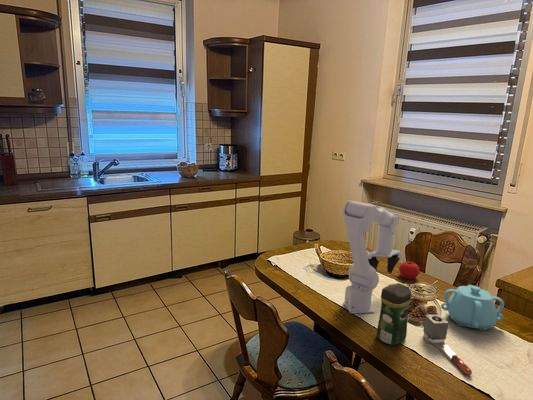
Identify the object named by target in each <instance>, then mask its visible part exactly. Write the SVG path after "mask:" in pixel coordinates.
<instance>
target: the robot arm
mask: <svg viewBox="0 0 533 400" xmlns="http://www.w3.org/2000/svg"><path fill="white" fill-rule="evenodd" d="M341 214H342V218H343V222H344V227H346V234H347V240H348V243H349V244H348V245H349V247H350V248H349V249H350V252H351V257H352V262H353V263H352V264H351V265H350V266H349V268H348V279H349V282H350V283H351V285H348V286H346V287H345V292H344V301H343V304H344V306H345V308H346V309H347V310H348V311H349V313H350V314H363V313H364V314H366V313H370V314H371V313H375V310H374V309H373V307H372V306H371V305H372V295H373V291H374V289H376V288H377V287H378V284H379V281H380V276H379V274H378V273H377V269H378V266H379V263H380V261H379V260H378V258H384V257H385V258H387V265H386V271H387V273H389V274H392V273H393V272H394V269H395V266H396V265H397V264H398V262H399V261H400V259H401V258H400V256H401V250H399V249H393V243H394V235H395V232H396V230H397V227H398V223H399V217H398V216H397V215H396V213H392V212H390V210H388V209H386V207H383V206H379V207H377V205H375V204H371V203H365V202H360V201H354V200H352V199H348V200H347V201H346V203H345V204H344V206H343V209H342V213H341ZM374 222H375V223H376V224H377V225H378V226H379V227H378V236H377V237H378V238H377V245H376V246H377V247H376V249H375V250H373V251H370V252H368V251H367V246H366V241H365V236H364V233H368V232H369V231H370V228H371V227H372V226H373V223H374Z"/></svg>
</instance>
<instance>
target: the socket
mask: <svg viewBox="0 0 533 400" xmlns="http://www.w3.org/2000/svg"><path fill="white" fill-rule="evenodd" d="M448 328H449V321H447V320H446V318H444V316H442V315H441V314H425V317H424V324H423V329H422V332H423V333H424V332H425V333H426V334H427V336H428V337H429V338H430V339H431V340H439V339H445V340H447V334H448Z"/></svg>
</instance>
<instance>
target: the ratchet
mask: <svg viewBox="0 0 533 400" xmlns="http://www.w3.org/2000/svg"><path fill="white" fill-rule="evenodd" d="M422 337H423V339H424V340H425V342H426V343H428V344H430V345H434V346H436V348H438V350H439V351H440V352H441V353H442V355H444V357H446V358H447V360H448V361H449V362H453V363H455V365H456V366H457V367H458V368H459V369H460V370H461V371H462V372H463V374H465V375H466V376H472V374H473V371H472V369H471V368H470V367H469V366H468V365H467V364H466V363H465V362H464V361H463V360H462V359H461V358H460V357H459V356H458V355H457V354H456V352H455V351H453V350H452V349H451V348H450V346H448V345H447V344H446V342H445V340H446V339H439V340H431V339H430V338H429V337H428V336H427V334H426V333H425V332H424V331H423V336H422Z"/></svg>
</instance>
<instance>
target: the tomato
mask: <svg viewBox="0 0 533 400" xmlns="http://www.w3.org/2000/svg"><path fill="white" fill-rule="evenodd" d="M398 272H399V274H400V275H401V276H402V277H403V278H404V279H408V280H413V279H416V278H417V277H418V276H419V274H420V266H418V264H417V263H416V262H413V261H410V260H407V261H403V262H401V264H400V265H399V267H398Z"/></svg>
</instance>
